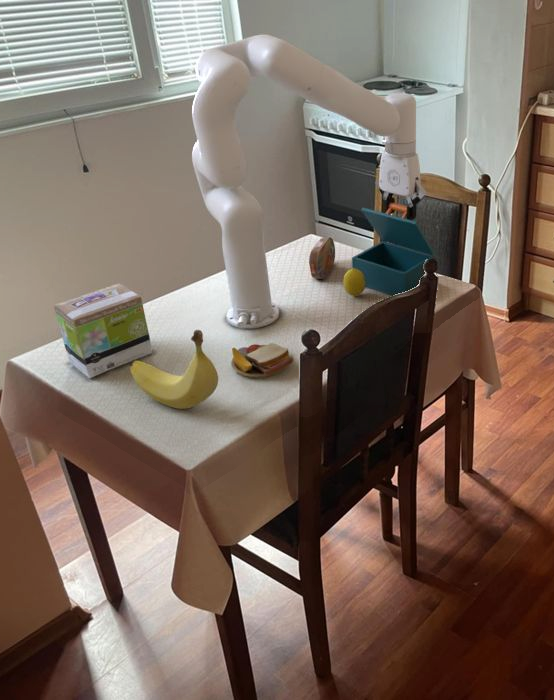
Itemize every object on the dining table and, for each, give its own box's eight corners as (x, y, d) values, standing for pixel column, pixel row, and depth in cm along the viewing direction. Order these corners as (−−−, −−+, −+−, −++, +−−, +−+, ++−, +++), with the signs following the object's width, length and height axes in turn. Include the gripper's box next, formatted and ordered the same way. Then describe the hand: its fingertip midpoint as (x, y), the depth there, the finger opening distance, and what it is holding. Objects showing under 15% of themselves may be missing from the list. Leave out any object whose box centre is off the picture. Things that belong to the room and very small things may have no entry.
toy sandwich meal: (273, 343, 166) (271, 325, 163) (302, 369, 157) (300, 350, 154) (222, 361, 160) (219, 342, 157) (249, 389, 150) (246, 370, 148)
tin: (320, 284, 191) (317, 255, 187) (309, 283, 192) (306, 254, 188) (336, 260, 204) (335, 233, 199) (326, 260, 204) (324, 232, 200)
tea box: (90, 380, 153) (72, 320, 145) (69, 363, 159) (51, 304, 151) (154, 353, 162) (141, 294, 155) (132, 337, 168) (118, 280, 160)
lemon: (357, 303, 182) (356, 275, 178) (339, 298, 185) (338, 269, 181) (370, 295, 186) (368, 266, 182) (352, 289, 189) (351, 262, 184)
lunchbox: (405, 299, 184) (404, 274, 180) (353, 282, 192) (351, 257, 188) (433, 281, 193) (434, 256, 189) (383, 265, 201) (382, 241, 198)
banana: (127, 396, 148) (104, 311, 138) (148, 381, 153) (128, 298, 142) (211, 428, 139) (193, 339, 129) (231, 412, 144) (216, 325, 133)
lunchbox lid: (415, 224, 177) (425, 206, 179) (361, 209, 186) (371, 192, 187) (433, 255, 189) (443, 238, 190) (381, 240, 197) (391, 224, 199)
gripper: (363, 144, 178) (365, 213, 188) (420, 157, 170) (419, 228, 179) (382, 138, 184) (383, 205, 193) (438, 149, 175) (436, 219, 184)
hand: (400, 216), depth 186 cm, fingers closed on lunchbox lid, 6 cm apart
